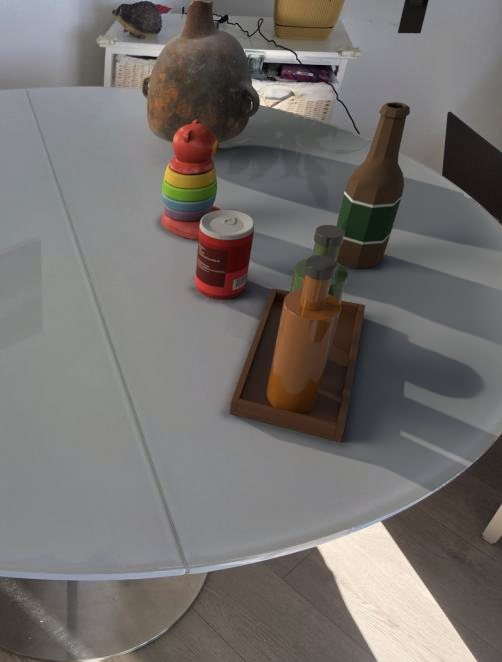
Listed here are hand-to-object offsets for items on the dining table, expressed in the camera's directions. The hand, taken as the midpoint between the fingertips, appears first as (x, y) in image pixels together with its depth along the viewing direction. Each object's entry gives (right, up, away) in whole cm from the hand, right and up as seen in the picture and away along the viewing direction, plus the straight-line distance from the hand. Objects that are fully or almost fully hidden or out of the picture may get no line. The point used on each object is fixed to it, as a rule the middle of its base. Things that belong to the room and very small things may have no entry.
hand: (411, 22), depth 89 cm
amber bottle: (-21, -52, -11) cm, 57 cm away
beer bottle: (-1, -31, +13) cm, 34 cm away
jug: (-18, -2, +52) cm, 55 cm away
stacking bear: (-25, -23, +26) cm, 43 cm away
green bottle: (-18, -47, -6) cm, 51 cm away
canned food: (-24, -36, +10) cm, 44 cm away
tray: (-18, -47, -5) cm, 51 cm away
